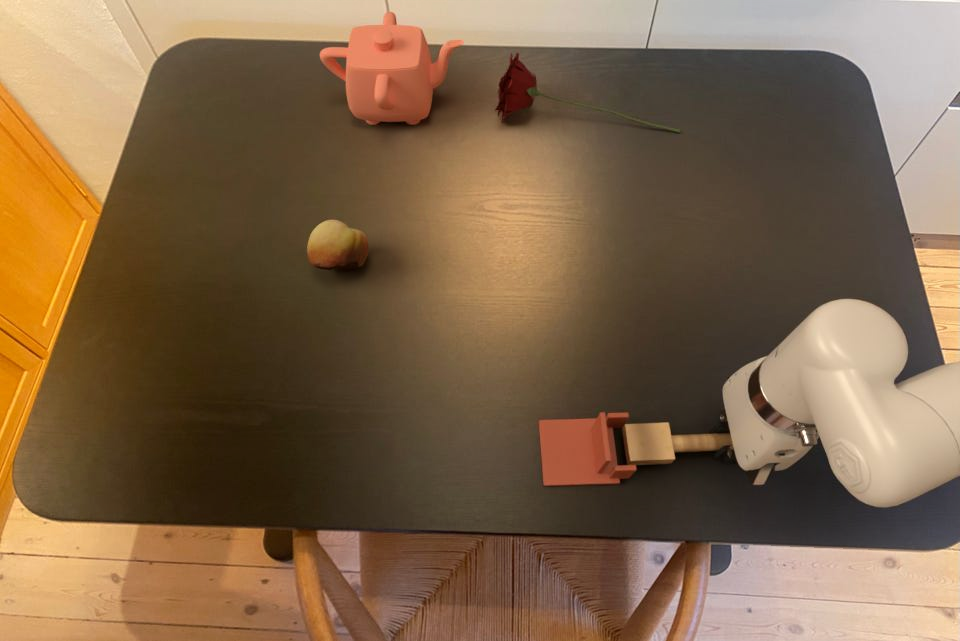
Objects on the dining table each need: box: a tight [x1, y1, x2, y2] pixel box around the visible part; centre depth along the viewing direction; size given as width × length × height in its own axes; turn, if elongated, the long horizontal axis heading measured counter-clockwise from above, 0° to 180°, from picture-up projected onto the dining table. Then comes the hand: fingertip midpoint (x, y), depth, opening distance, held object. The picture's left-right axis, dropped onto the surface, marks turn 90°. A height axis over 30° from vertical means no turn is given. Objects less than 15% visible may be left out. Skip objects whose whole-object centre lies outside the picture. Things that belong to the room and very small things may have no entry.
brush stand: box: [538, 411, 637, 487], centre depth 71 cm, size 10×8×7 cm
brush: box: [621, 421, 733, 466], centre depth 71 cm, size 15×4×3 cm, turn 92°
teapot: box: [319, 11, 465, 126], centre depth 94 cm, size 17×16×13 cm
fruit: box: [306, 219, 369, 272], centre depth 82 cm, size 8×8×8 cm
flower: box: [494, 52, 681, 134], centre depth 96 cm, size 11×10×30 cm
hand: (723, 445), depth 73 cm, fingers closed on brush, 2 cm apart
